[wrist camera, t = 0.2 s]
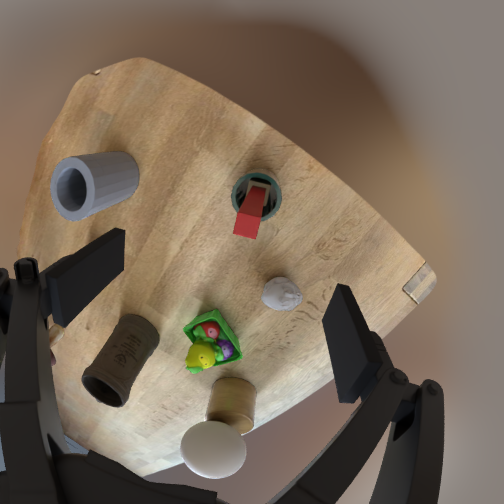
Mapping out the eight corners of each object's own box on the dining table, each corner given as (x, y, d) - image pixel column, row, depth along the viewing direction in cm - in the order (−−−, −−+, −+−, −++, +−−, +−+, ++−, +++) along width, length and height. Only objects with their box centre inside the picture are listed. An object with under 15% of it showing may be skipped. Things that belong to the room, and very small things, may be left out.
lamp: (208, 407, 66) (190, 483, 43) (189, 375, 61) (161, 459, 38) (262, 404, 64) (255, 487, 40) (248, 371, 59) (236, 465, 36)
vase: (101, 148, 42) (52, 154, 30) (143, 154, 43) (97, 160, 30) (96, 196, 46) (50, 214, 33) (136, 204, 46) (92, 227, 33)
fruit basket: (246, 342, 55) (241, 381, 45) (212, 353, 58) (201, 390, 47) (219, 301, 52) (207, 337, 42) (183, 315, 54) (166, 350, 44)
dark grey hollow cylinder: (123, 303, 55) (76, 366, 37) (165, 325, 56) (128, 396, 38) (116, 343, 61) (80, 399, 43) (152, 362, 62) (123, 423, 44)
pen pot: (244, 163, 42) (237, 167, 34) (284, 173, 43) (287, 179, 34) (235, 202, 45) (226, 215, 37) (274, 211, 45) (274, 226, 37)
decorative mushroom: (44, 307, 59) (13, 335, 45) (71, 318, 59) (40, 351, 45) (53, 336, 63) (27, 365, 49) (79, 347, 63) (53, 381, 49)
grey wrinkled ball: (301, 295, 50) (304, 316, 44) (264, 300, 51) (263, 321, 45) (298, 266, 48) (301, 285, 42) (259, 271, 49) (257, 290, 43)
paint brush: (252, 176, 43) (232, 203, 22) (271, 181, 43) (270, 212, 22) (247, 195, 44) (224, 238, 23) (266, 200, 44) (260, 247, 23)
